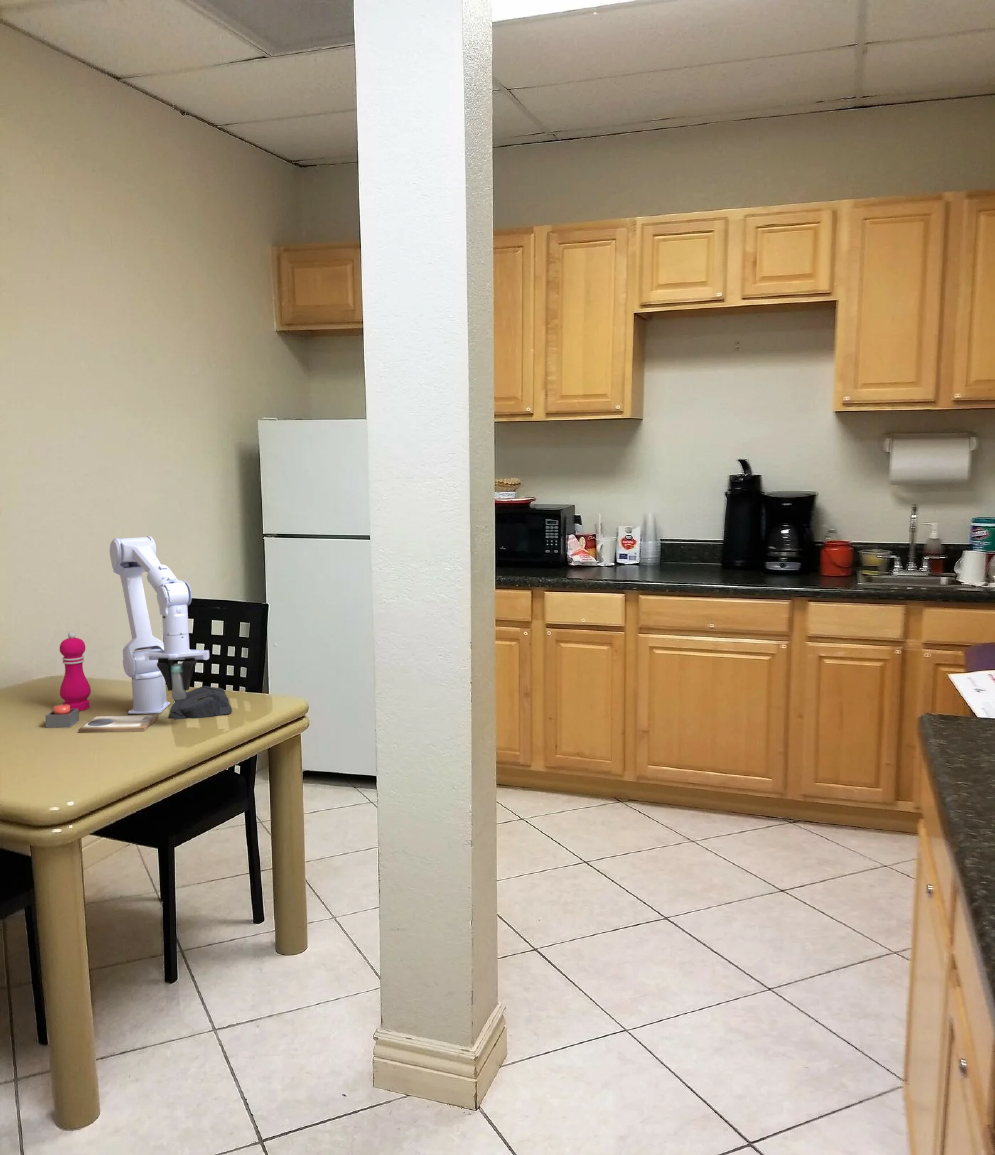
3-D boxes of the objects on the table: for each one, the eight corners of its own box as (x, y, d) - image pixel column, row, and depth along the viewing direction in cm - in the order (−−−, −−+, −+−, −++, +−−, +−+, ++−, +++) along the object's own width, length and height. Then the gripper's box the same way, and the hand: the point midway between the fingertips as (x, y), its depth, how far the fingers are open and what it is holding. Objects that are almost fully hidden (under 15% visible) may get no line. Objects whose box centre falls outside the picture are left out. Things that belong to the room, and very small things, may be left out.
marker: (174, 696, 224) (172, 663, 223) (188, 696, 224) (186, 663, 223) (170, 699, 220) (168, 666, 219) (184, 699, 221) (182, 666, 220)
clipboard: (95, 719, 229) (95, 713, 229) (158, 718, 230) (157, 711, 230) (78, 732, 218) (78, 726, 218) (144, 731, 219) (143, 724, 219)
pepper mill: (54, 711, 236) (49, 633, 234) (73, 704, 243) (68, 628, 241) (79, 713, 235) (74, 635, 232) (98, 705, 242) (93, 629, 239)
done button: (57, 712, 227) (56, 704, 226) (72, 712, 227) (72, 704, 227) (51, 716, 223) (50, 708, 223) (66, 716, 223) (66, 708, 223)
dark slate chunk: (232, 695, 253) (231, 678, 252) (232, 717, 232) (231, 699, 231) (173, 699, 249) (172, 682, 248) (166, 722, 228) (165, 703, 227)
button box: (55, 721, 228) (54, 709, 227) (79, 720, 228) (78, 708, 228) (46, 727, 222) (45, 715, 222) (70, 727, 223) (69, 715, 222)
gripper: (139, 637, 216) (142, 694, 217) (203, 636, 217) (205, 693, 218) (148, 631, 223) (151, 686, 224) (210, 630, 224) (212, 685, 225)
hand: (178, 689), depth 222 cm, fingers closed on marker, 3 cm apart
